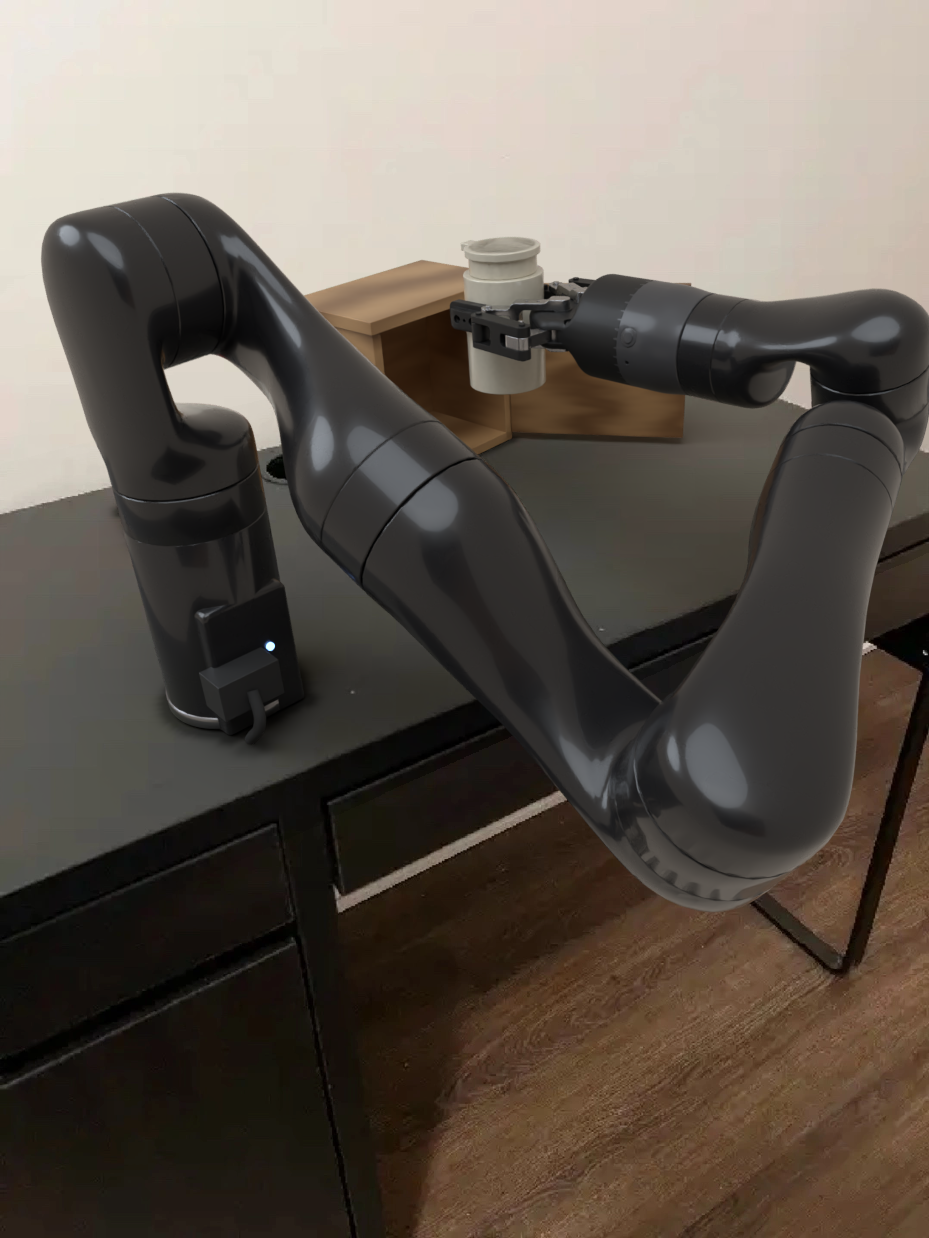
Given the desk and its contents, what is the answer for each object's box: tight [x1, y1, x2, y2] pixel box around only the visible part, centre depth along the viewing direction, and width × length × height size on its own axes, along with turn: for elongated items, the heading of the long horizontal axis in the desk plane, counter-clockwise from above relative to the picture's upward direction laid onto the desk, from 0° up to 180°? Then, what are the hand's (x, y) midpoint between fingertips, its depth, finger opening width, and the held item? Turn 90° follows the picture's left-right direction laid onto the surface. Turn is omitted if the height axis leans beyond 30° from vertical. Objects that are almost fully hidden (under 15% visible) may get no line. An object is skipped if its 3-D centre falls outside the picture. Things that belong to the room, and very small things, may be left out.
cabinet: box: [303, 259, 692, 455], centre depth 103 cm, size 28×28×17 cm
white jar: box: [460, 236, 546, 395], centre depth 84 cm, size 7×6×11 cm
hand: (484, 303), depth 84 cm, fingers closed on white jar, 6 cm apart
